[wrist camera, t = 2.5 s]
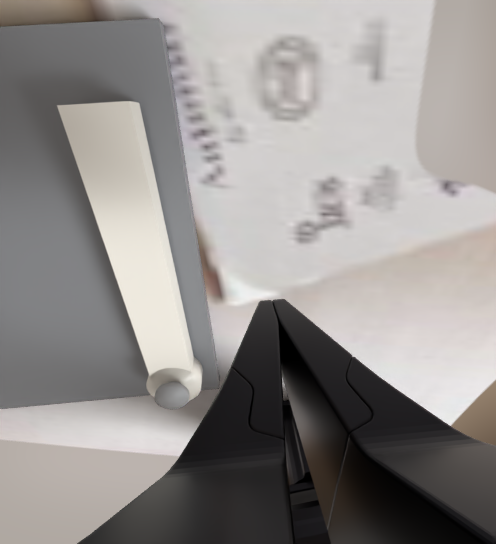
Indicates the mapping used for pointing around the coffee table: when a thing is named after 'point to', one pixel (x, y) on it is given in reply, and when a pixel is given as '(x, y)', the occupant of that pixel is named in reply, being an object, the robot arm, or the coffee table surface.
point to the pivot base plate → (83, 217)
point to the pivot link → (134, 233)
